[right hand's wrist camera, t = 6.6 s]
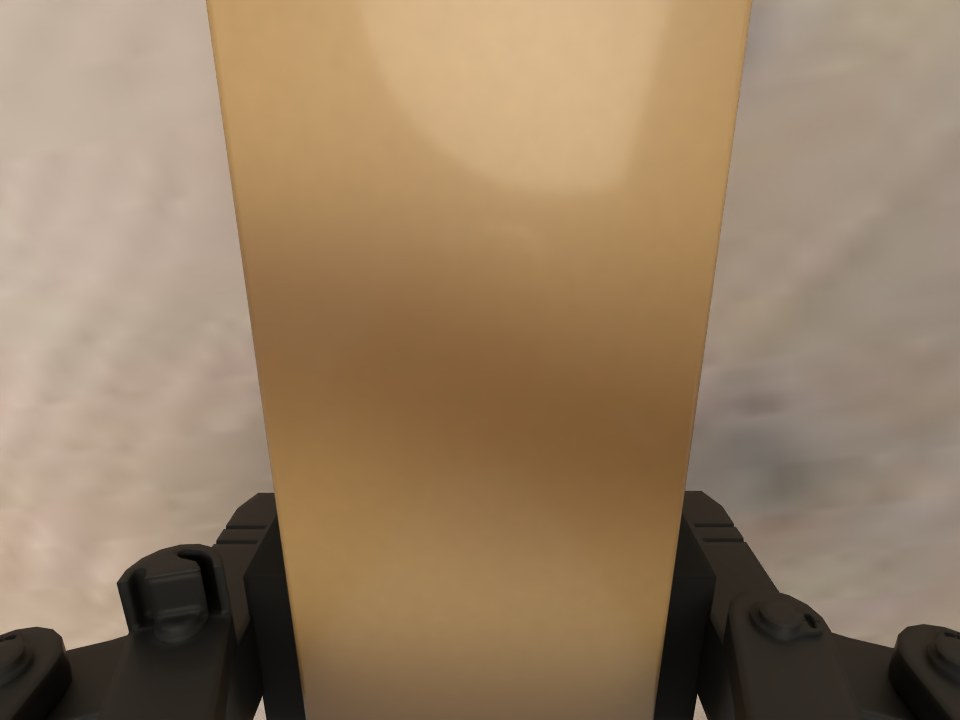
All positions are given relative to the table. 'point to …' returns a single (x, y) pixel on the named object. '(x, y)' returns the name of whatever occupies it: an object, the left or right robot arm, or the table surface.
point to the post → (479, 333)
